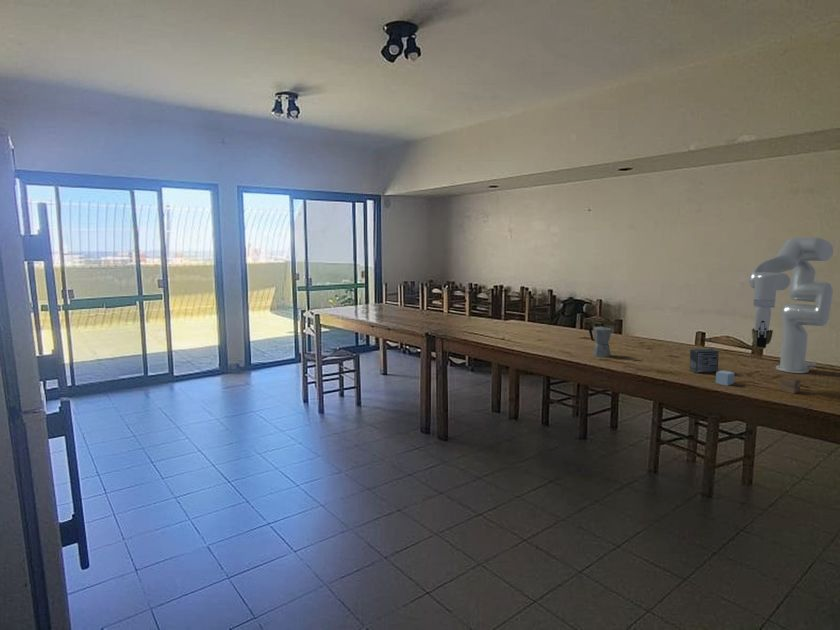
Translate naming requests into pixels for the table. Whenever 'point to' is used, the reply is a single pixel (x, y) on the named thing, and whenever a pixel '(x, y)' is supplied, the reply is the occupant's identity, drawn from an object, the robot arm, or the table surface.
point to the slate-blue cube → (725, 377)
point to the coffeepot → (601, 340)
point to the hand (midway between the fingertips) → (761, 344)
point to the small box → (704, 360)
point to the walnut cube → (790, 385)
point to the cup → (755, 335)
